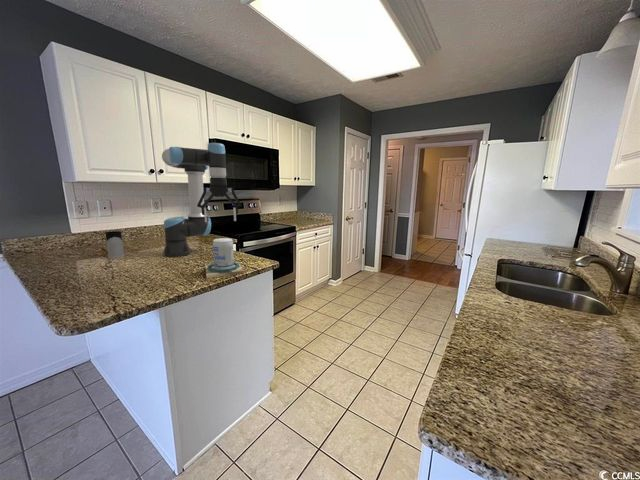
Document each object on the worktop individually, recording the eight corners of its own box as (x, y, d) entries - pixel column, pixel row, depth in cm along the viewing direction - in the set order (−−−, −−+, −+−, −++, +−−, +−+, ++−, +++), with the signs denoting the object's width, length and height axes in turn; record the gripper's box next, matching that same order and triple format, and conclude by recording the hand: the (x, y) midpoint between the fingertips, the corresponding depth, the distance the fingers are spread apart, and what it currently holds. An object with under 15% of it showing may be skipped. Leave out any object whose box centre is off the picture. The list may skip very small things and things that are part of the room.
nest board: (205, 267, 140) (205, 262, 139) (238, 264, 147) (238, 259, 146) (206, 278, 124) (206, 272, 123) (243, 273, 131) (243, 268, 130)
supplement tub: (211, 270, 130) (209, 241, 127) (217, 265, 139) (216, 237, 137) (231, 270, 131) (229, 241, 128) (236, 265, 140) (235, 238, 137)
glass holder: (108, 259, 154) (104, 233, 151) (106, 254, 165) (103, 230, 162) (126, 256, 160) (123, 232, 157) (123, 252, 170) (120, 229, 167)
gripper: (189, 176, 118) (192, 223, 122) (246, 177, 128) (247, 221, 132) (189, 176, 124) (193, 221, 129) (243, 178, 135) (245, 219, 139)
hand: (220, 221), depth 130 cm, fingers open, 13 cm apart
